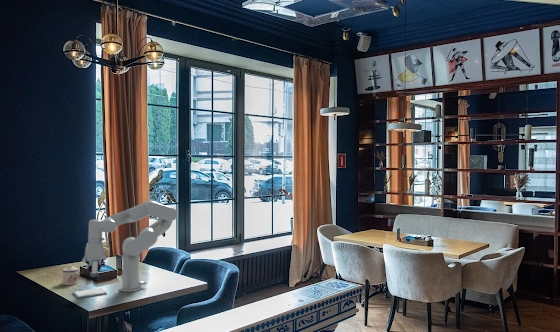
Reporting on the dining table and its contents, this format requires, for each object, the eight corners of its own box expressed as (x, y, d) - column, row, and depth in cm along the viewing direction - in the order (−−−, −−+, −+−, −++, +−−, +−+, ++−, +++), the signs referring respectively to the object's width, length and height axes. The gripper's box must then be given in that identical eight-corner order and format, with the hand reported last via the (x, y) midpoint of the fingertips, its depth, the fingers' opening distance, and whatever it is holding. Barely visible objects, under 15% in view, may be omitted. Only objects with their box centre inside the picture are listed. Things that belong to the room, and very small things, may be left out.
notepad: (100, 289, 282) (100, 287, 282) (106, 294, 272) (106, 292, 272) (72, 293, 272) (72, 291, 272) (77, 298, 263) (77, 297, 263)
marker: (96, 274, 277) (97, 254, 277) (98, 276, 274) (99, 255, 274) (89, 275, 275) (90, 255, 275) (91, 277, 272) (92, 256, 271)
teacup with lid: (69, 286, 287) (69, 267, 287) (58, 284, 291) (58, 265, 291) (84, 281, 298) (84, 263, 298) (74, 279, 302) (74, 261, 301)
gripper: (107, 238, 282) (106, 268, 282) (78, 240, 272) (77, 271, 272) (111, 240, 276) (110, 271, 276) (81, 242, 266) (80, 274, 266)
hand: (94, 271), depth 274 cm, fingers closed on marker, 3 cm apart
